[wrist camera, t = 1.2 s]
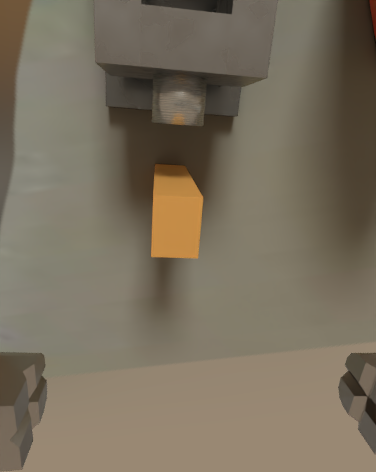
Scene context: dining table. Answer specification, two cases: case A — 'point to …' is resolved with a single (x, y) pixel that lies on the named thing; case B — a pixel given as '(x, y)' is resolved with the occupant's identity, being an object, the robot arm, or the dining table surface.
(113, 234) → the dining table surface
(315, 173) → the dining table surface
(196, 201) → the orange rectangular bar
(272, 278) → the dining table surface
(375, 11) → the cracker box
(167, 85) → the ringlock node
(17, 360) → the robot arm
